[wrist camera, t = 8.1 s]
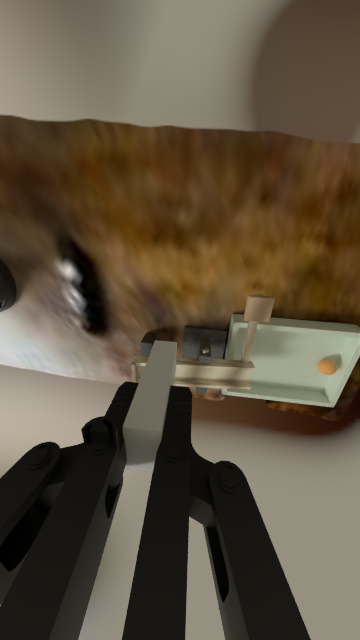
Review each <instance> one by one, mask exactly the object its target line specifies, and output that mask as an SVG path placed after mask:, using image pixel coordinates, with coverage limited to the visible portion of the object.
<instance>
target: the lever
mask: <svg viewBox="0 0 360 640" xmlns="http://www.w3.org/2000/svg"><path fill="white" fill-rule="evenodd" d="M274 301H275V298H274V297H268V296H263V295H262V294H254V296H248V297H247V302H246V307H245V312H244V317H243V319H244V321H249V323H248V328H247V332H246V337H245V342H244V347H243V351H242V356H241V360H222V359H211V361H210V364H209V363H200V362H199V358H179V357H176V372H175V380H174V386H183V387H202V388H224V389H247V390H250V388H251V387H250V384H249V380H250V376H251V372H252V371H255V366H254V364H253V362H252V361H249V360H250V355H251V351H252V347H253V342H254V338H255V334H256V329H257V325H258V321H261V322H269V320H270V317H271V313H272V309H273V305H274ZM148 358H149V356H136V355H135V357H134V359H133V362H132V381H133V382H135V383H139V382H140V379H141V376H142V374H143V371H144V368H145V366H146V363H147V360H148Z"/></svg>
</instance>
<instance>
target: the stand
mask: <svg viewBox="0 0 360 640" xmlns="http://www.w3.org/2000/svg"><path fill="white" fill-rule="evenodd" d="M226 335H227V330H221V329H210V328H199V327H188V326H185V329H184V344H183V358H199V362H200V363H209V364H210V361H211V359H223V353H224V347H225V341H226ZM155 340H156V334H152V333H146V334H145V336H144V338H143V339H142V341H141V356H149V355H150V352H151V350H152V347H153V344H154V342H155ZM206 391H207V388H202V387H196V393H201V394H206Z"/></svg>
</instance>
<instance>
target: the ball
mask: <svg viewBox="0 0 360 640" xmlns="http://www.w3.org/2000/svg"><path fill="white" fill-rule="evenodd" d="M318 370H319V371H320V372H321V373H322V374H324V375H332V374H334V373H335V372H336V370H337V367H336V364H335V363H334V362H333V361H331V360H328V359H324V360H321V361H320V362H319V363H318Z"/></svg>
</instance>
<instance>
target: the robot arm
mask: <svg viewBox="0 0 360 640" xmlns="http://www.w3.org/2000/svg"><path fill="white" fill-rule="evenodd" d="M15 296H16V289H15V284H14V280H13V278H12V276H11V274H10V272H9V270H8V269H7V267H6V266H5V265H4V263H3V262H2V261H1V260H0V312H2V311H4V310H6V309H8V308H9V307H10V306H11V305H12V304H13V302H14V300H15ZM176 352H177V342H169V341H157V340H155V342H154V344H153V347H152V350H151V352H150V355H149V358H148V360H147V363H146V366H145V368H144V371H143V374H142V376H141V379H140V382H139V383H135V382H124V383H123V384H122V385H121V386H120V387H119V388H118V390H117V392H116V394H115V397H114V398H113V400H112V403H111V404H110V407H109V408H108V410H107V412H106V415H105V416H103V417H97V418H94V419H92V420H90V421H89V422H88V423H86V424H85V426H84V427H83V428H82V434H83V439H84V443H81V444H78V445H74V446H70V447H65V448H60V447H59V446H58V445H57V444H56V443H54V442H45V443H41V444H39V445H37V446H35V447H33V448H32V449H31V450H29V451H28V452H27V453H26V454H25V455H24V456H23V457H22V458H21V459H20V460H19V461H17V462H16V463H15V464H14V466H12V468H10V469H9V470H8V471H7V472H6V473H5V474H4V475H3V476H2V477H1V478H0V604H1V603H2V604H1V606H0V640H78V638H79V634H80V631H81V627H82V624H83V620H84V617H85V613H86V610H87V606H88V602H89V600H90V596H91V593H92V589H93V586H94V582H95V579H96V575H97V571H98V568H99V565H100V561H101V558H102V554H103V551H104V547H105V544H106V541H107V537H108V534H109V530H110V527H111V523H112V519H113V516H114V513H115V509H116V506H117V502H118V499H119V495H120V492H121V488H122V485H123V472H124V468H125V465H127V469H129V470H138V471H146V472H153V474H152V480H151V485H150V491H149V496H148V501H147V507H146V512H145V517H144V523H143V528H142V534H141V539H140V545H139V550H138V555H137V561H136V566H135V572H134V577H133V582H132V588H131V593H130V599H129V605H128V609H127V615H126V620H125V626H124V631H123V636H122V640H185V624H186V622H185V621H186V593H187V592H186V591H187V562H188V531H189V516H190V517H191V518H193V519H195V520H196V521H198V522H200V523H201V524H203V527H204V532H205V537H206V543H207V547H208V553H209V558H210V563H211V568H212V574H213V578H214V584H215V589H216V594H217V599H218V604H219V610H220V614H221V620H222V625H223V630H224V635H225V640H311V639H310V637H309V634H308V632H307V629H306V627H305V624H304V622H303V620H302V617H301V615H300V612H299V609H298V607H297V604H296V602H295V599H294V597H293V594H292V592H291V589H290V587H289V584H288V582H287V579H286V577H285V574H284V572H283V569H282V567H281V564H280V562H279V559H278V557H277V554H276V552H275V549H274V547H273V544H272V542H271V539H270V537H269V534H268V532H267V529H266V527H265V524H264V522H263V519H262V517H261V514H260V512H259V509H258V507H257V505H256V502H255V500H254V497H253V495H252V492H251V489H250V487H249V484H248V482H247V479H246V477H245V475H244V474H243V472H242V470H240V468H238V466H236V465H235V464H233V463H231V462H229V461H220V462H217V463H215V464H214V463H212V462H210V461H208V460H206V459H204V458H202V457H201V456H199V455H198V454H197V453H196V452H195V450H194V448H193V447H192V444H191V415H192V393H191V391H190V389H189V387H183V386H174V380H175V372H176Z"/></svg>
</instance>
